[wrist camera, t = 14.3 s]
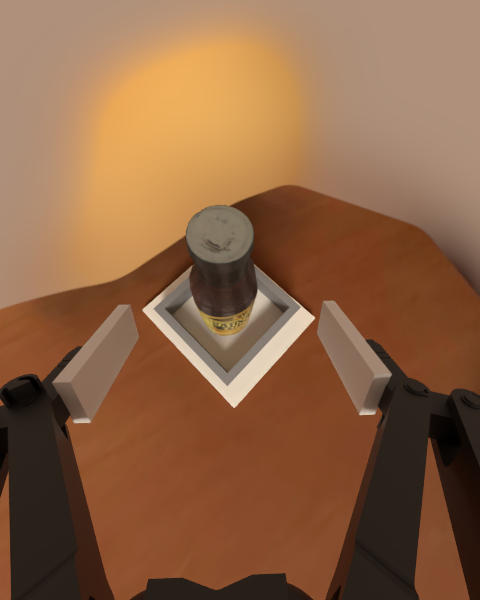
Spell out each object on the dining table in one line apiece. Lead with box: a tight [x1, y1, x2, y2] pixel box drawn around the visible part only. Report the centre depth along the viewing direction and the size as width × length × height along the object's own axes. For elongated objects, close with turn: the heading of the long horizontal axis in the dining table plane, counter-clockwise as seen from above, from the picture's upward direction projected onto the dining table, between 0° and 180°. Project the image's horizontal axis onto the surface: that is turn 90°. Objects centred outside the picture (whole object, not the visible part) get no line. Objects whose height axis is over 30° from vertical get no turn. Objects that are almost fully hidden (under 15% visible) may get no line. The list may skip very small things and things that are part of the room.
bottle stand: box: [142, 264, 315, 408], centre depth 31 cm, size 18×16×5 cm
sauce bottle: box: [186, 205, 258, 336], centre depth 23 cm, size 7×6×20 cm
